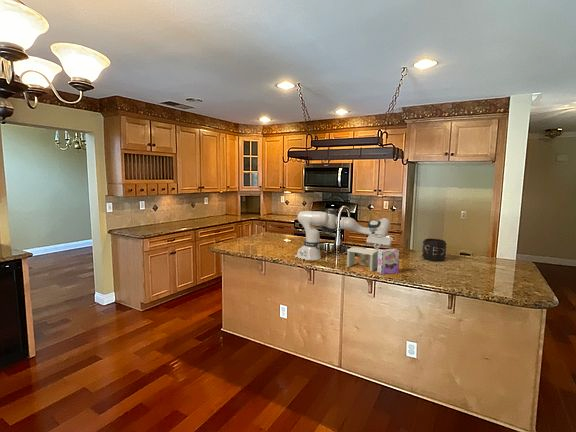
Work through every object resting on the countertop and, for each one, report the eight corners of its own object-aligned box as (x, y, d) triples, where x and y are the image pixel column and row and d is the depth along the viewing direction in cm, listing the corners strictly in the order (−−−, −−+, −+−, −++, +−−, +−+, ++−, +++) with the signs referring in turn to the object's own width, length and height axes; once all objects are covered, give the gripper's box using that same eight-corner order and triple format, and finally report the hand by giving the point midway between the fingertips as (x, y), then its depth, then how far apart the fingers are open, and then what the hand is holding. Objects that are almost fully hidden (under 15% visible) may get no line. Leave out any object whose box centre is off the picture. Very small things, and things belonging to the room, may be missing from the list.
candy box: (381, 274, 235) (382, 251, 233) (376, 272, 241) (377, 249, 239) (398, 273, 239) (399, 250, 237) (394, 270, 244) (395, 248, 242)
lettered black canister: (420, 260, 274) (421, 241, 271) (422, 255, 289) (424, 237, 287) (444, 263, 265) (446, 243, 263) (446, 258, 281) (447, 239, 279)
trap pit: (350, 269, 248) (350, 268, 248) (351, 268, 250) (351, 267, 250) (363, 271, 242) (363, 271, 242) (364, 270, 244) (364, 270, 244)
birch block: (359, 264, 260) (359, 254, 259) (364, 262, 268) (364, 252, 267) (371, 267, 254) (372, 256, 253) (376, 264, 262) (376, 253, 261)
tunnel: (346, 266, 254) (347, 249, 252) (352, 263, 262) (353, 247, 260) (372, 271, 242) (372, 253, 241) (377, 268, 250) (378, 250, 249)
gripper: (394, 239, 274) (389, 253, 268) (370, 236, 286) (365, 249, 280) (392, 234, 270) (388, 249, 264) (368, 231, 282) (363, 245, 275)
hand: (376, 249), depth 272 cm, fingers closed
